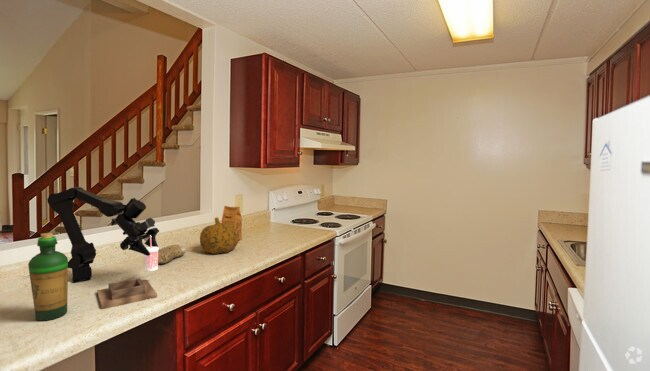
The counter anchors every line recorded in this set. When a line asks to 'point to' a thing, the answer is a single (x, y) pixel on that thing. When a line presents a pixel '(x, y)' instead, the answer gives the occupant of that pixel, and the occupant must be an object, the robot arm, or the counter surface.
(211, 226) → the decorative pumpkin
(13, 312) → the counter surface
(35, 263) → the bottle
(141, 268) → the counter surface
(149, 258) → the beverage cup
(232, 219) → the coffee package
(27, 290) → the counter surface
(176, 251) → the tan rounded lump
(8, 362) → the counter surface
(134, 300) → the cup holder
